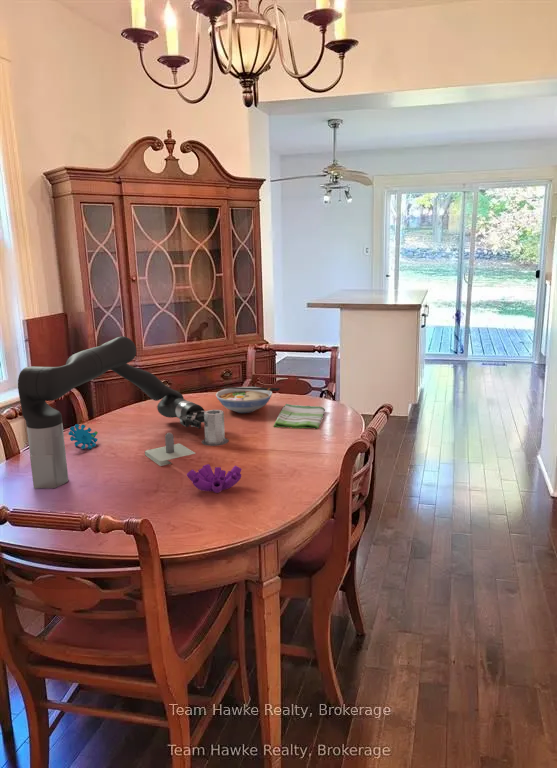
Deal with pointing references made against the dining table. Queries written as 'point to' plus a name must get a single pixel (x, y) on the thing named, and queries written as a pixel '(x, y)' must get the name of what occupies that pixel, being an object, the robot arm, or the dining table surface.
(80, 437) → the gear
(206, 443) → the stand
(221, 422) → the sleeve
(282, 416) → the dish towel
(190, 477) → the pipe connector assembly
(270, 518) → the dining table surface
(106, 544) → the dining table surface
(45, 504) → the dining table surface
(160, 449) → the plate with upright peg
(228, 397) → the ramen bowl
